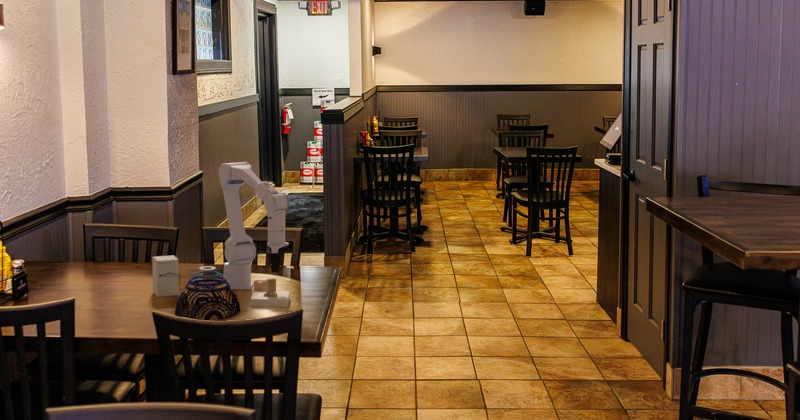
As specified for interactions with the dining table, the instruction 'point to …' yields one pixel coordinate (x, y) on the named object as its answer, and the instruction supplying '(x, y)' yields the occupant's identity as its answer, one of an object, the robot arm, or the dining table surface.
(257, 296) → the hole plate
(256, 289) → the terracotta peg
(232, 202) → the robot arm
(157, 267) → the supplement box
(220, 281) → the decorative bowl
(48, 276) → the dining table surface
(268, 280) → the beech pin
